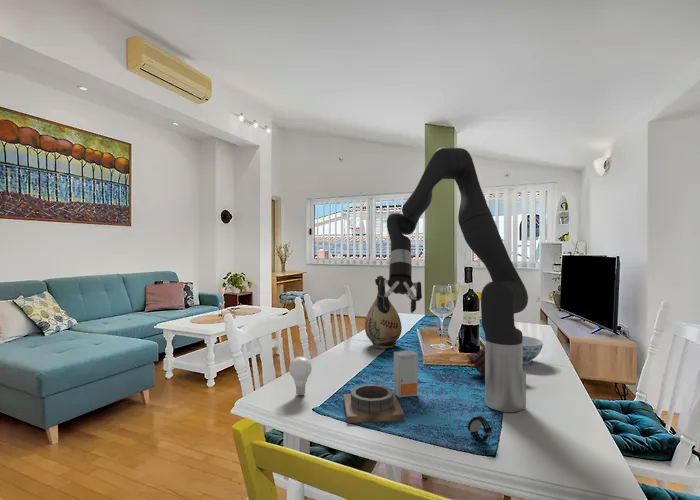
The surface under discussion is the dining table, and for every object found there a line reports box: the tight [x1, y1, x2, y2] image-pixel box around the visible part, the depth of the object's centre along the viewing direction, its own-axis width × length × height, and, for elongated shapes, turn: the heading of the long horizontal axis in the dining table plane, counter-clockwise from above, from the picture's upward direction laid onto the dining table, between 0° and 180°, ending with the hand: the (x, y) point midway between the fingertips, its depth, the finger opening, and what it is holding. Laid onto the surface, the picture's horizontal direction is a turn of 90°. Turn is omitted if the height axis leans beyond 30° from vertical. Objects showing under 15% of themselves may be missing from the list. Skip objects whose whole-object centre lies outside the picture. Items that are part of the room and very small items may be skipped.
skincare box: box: [392, 350, 419, 398], centre depth 110 cm, size 6×4×12 cm
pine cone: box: [466, 347, 485, 376], centre depth 123 cm, size 18×10×10 cm, turn 57°
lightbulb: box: [288, 356, 313, 397], centre depth 109 cm, size 6×6×11 cm
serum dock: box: [343, 383, 405, 424], centre depth 100 cm, size 14×14×4 cm
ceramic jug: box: [364, 275, 402, 349], centre depth 161 cm, size 17×15×30 cm
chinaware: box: [523, 335, 544, 365], centre depth 140 cm, size 15×15×8 cm
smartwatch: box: [467, 415, 492, 443], centre depth 84 cm, size 4×5×5 cm
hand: (399, 310), depth 125 cm, fingers open, 8 cm apart
